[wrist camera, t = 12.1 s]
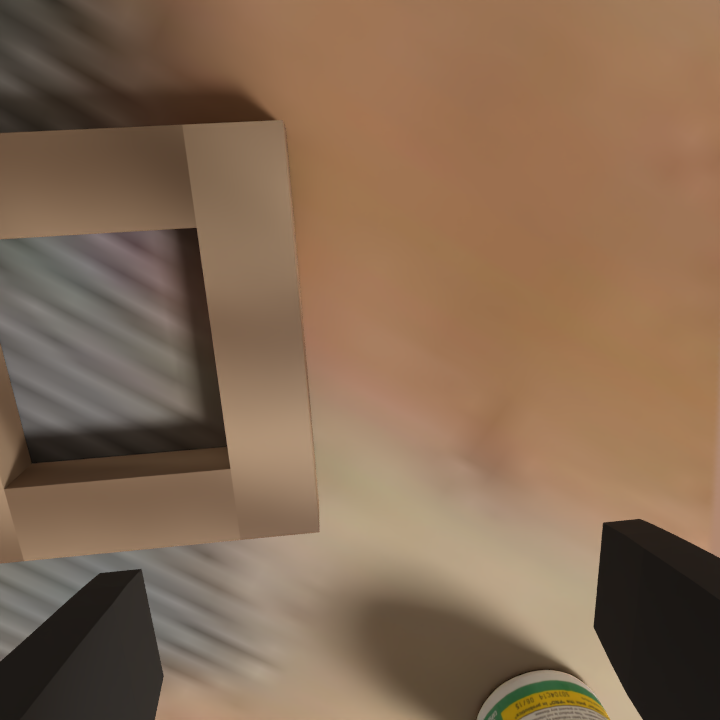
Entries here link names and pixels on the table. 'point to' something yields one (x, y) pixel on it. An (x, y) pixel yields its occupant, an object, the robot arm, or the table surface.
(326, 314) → the table surface
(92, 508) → the wooden square frame
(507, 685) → the supplement bottle
